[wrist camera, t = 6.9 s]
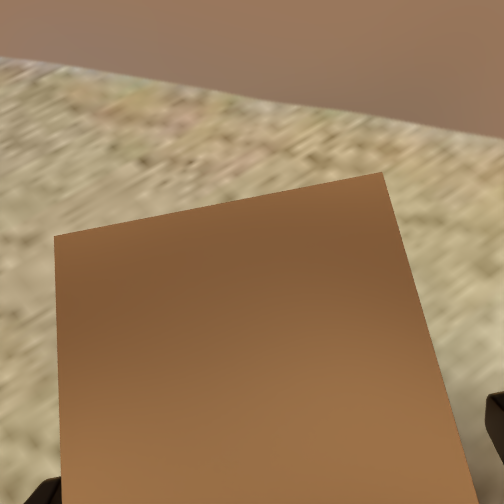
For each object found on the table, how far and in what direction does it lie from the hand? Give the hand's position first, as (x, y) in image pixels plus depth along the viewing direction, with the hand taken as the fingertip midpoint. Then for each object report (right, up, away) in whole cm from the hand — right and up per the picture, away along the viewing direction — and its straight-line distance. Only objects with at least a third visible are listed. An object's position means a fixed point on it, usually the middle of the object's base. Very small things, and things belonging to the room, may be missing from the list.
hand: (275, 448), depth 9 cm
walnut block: (+1, -1, +8) cm, 8 cm away
